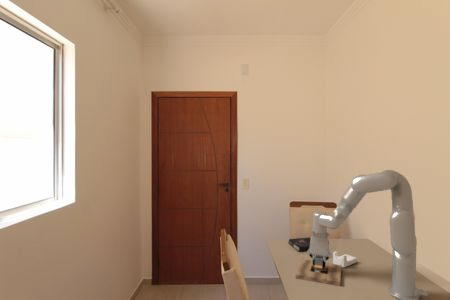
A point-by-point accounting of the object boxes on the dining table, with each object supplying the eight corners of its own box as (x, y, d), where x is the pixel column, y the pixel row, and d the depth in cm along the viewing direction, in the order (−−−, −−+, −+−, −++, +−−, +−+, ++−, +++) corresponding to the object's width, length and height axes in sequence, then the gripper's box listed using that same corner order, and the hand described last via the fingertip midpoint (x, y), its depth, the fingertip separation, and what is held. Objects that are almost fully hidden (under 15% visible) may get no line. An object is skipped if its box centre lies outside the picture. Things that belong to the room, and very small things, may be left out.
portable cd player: (288, 244, 206) (288, 239, 206) (310, 242, 209) (310, 237, 209) (298, 253, 190) (298, 247, 190) (322, 251, 193) (322, 245, 193)
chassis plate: (341, 268, 165) (341, 265, 165) (340, 286, 145) (340, 282, 145) (302, 262, 174) (302, 259, 174) (295, 278, 154) (295, 274, 154)
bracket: (343, 269, 165) (344, 256, 165) (333, 264, 171) (333, 252, 171) (356, 263, 173) (356, 251, 172) (345, 259, 178) (345, 247, 178)
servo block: (323, 265, 163) (323, 254, 163) (321, 272, 154) (322, 261, 154) (316, 264, 165) (316, 253, 165) (314, 271, 156) (314, 260, 155)
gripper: (335, 234, 159) (335, 267, 160) (304, 230, 166) (304, 261, 166) (335, 238, 152) (334, 272, 153) (303, 234, 159) (302, 267, 159)
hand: (318, 266), depth 159 cm, fingers closed on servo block, 4 cm apart
